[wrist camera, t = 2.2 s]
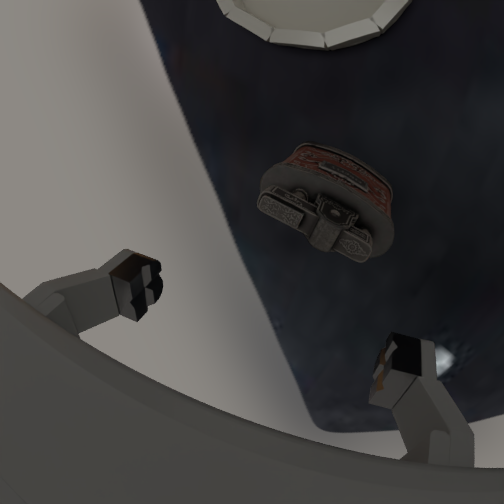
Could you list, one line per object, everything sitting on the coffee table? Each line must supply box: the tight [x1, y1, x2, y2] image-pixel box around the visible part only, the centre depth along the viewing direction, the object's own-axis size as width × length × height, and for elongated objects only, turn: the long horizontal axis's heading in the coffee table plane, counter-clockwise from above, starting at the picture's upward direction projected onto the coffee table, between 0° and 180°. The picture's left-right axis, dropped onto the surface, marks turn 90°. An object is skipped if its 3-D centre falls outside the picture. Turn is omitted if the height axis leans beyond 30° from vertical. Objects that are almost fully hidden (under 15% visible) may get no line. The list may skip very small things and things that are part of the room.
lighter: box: [257, 141, 394, 263], centre depth 19 cm, size 8×3×10 cm, turn 71°
